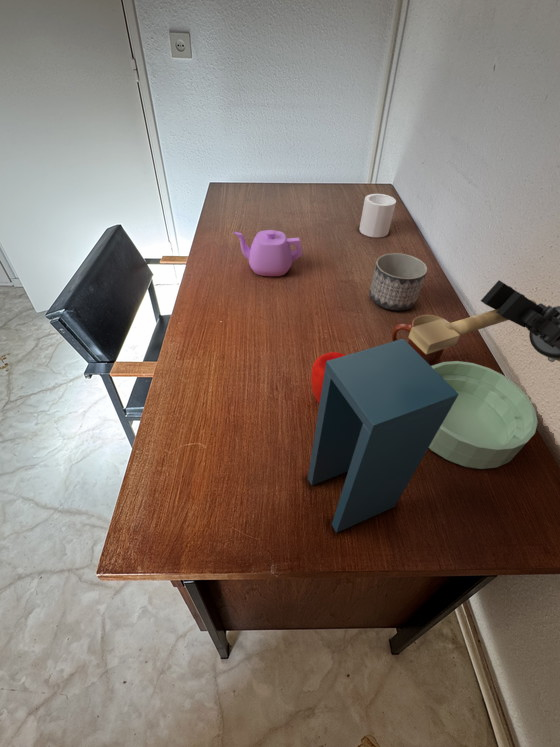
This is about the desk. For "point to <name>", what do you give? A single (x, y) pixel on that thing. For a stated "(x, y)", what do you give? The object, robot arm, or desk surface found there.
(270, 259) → the teapot
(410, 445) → the teal arch block
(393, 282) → the planter
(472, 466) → the bowl
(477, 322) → the wooden mallet
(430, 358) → the mug
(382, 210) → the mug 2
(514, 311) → the robot arm
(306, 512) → the desk surface
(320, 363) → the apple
